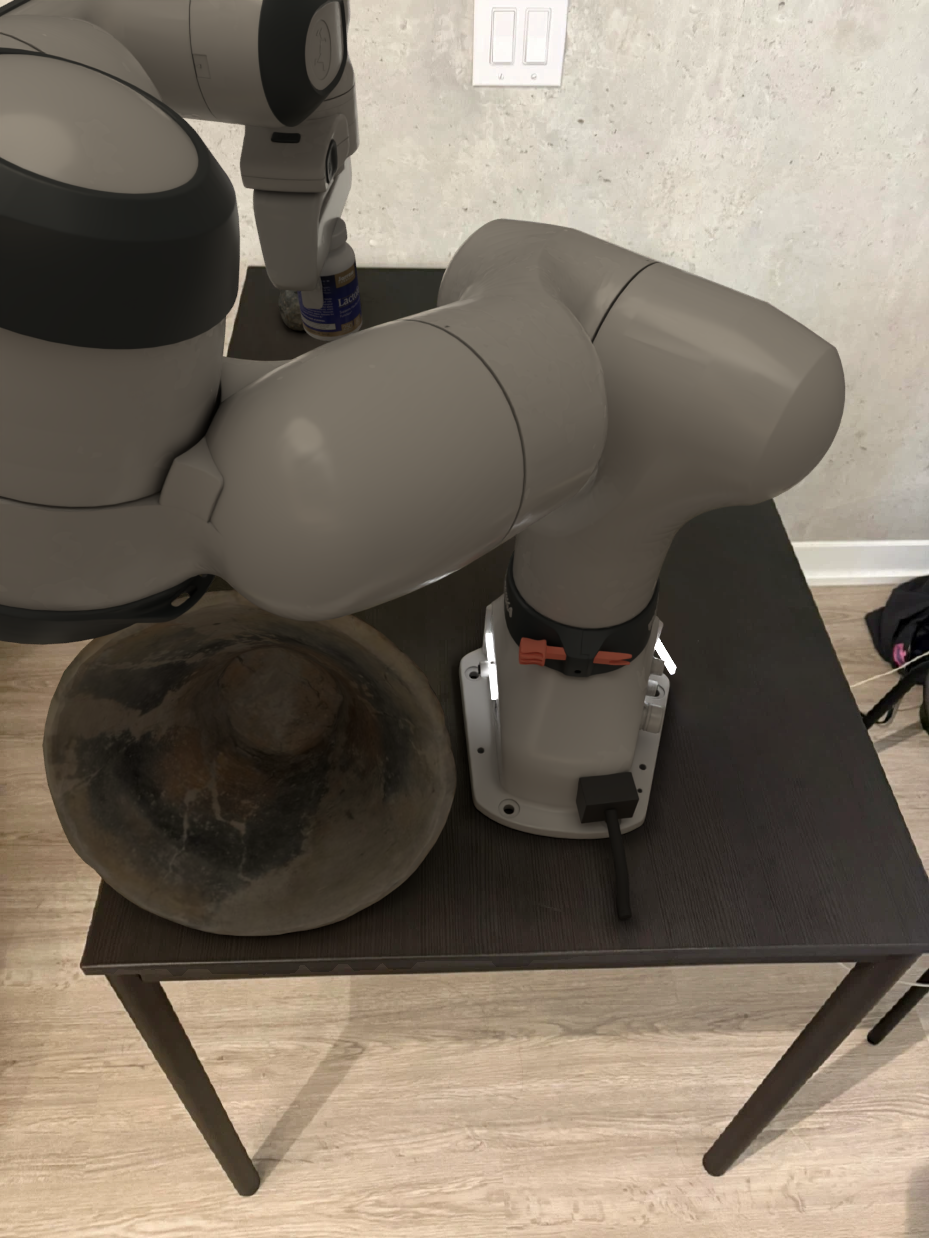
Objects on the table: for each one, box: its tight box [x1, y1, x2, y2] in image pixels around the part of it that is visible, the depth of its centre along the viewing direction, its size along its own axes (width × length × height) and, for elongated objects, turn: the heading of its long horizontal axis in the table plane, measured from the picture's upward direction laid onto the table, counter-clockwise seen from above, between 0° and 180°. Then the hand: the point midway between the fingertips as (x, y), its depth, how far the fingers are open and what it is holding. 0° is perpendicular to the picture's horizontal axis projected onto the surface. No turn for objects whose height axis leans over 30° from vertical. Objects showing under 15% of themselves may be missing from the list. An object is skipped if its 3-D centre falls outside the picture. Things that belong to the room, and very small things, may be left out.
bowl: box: [41, 589, 458, 937], centre depth 63 cm, size 27×26×15 cm
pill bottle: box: [297, 217, 363, 342], centre depth 79 cm, size 6×6×10 cm
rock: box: [277, 289, 305, 332], centre depth 113 cm, size 12×10×5 cm
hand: (321, 284), depth 79 cm, fingers closed on pill bottle, 6 cm apart
